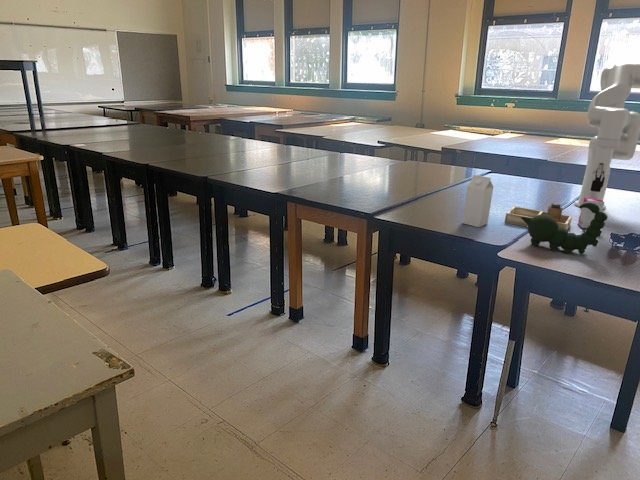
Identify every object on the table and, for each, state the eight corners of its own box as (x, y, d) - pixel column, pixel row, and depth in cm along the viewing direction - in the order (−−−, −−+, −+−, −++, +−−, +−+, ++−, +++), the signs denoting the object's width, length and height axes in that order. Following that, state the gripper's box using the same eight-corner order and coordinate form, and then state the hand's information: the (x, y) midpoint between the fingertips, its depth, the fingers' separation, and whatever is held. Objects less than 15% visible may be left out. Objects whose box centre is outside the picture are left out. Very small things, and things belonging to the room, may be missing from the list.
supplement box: (598, 230, 185) (605, 201, 181) (581, 229, 186) (588, 200, 182) (593, 226, 190) (599, 198, 187) (577, 224, 192) (583, 196, 188)
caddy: (512, 214, 202) (516, 194, 198) (570, 225, 190) (574, 203, 187) (504, 222, 191) (508, 200, 188) (564, 233, 180) (569, 210, 177)
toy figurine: (593, 257, 163) (517, 235, 175) (612, 204, 156) (532, 185, 168) (589, 265, 156) (511, 242, 168) (609, 211, 148) (526, 190, 160)
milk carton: (471, 219, 193) (477, 173, 187) (487, 224, 189) (495, 176, 182) (461, 223, 188) (468, 175, 182) (478, 227, 184) (486, 179, 177)
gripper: (598, 140, 186) (588, 183, 191) (593, 144, 172) (582, 191, 178) (620, 142, 182) (609, 186, 187) (617, 147, 168) (605, 194, 174)
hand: (596, 189), depth 183 cm, fingers open, 9 cm apart
